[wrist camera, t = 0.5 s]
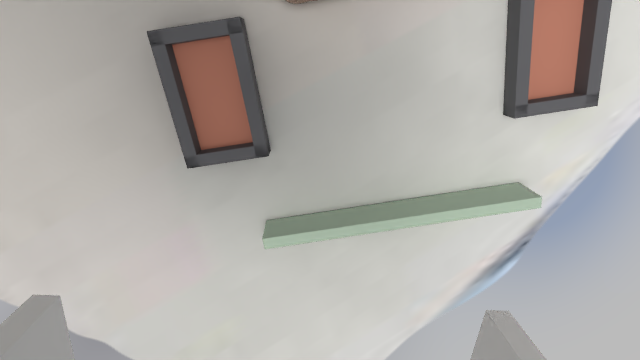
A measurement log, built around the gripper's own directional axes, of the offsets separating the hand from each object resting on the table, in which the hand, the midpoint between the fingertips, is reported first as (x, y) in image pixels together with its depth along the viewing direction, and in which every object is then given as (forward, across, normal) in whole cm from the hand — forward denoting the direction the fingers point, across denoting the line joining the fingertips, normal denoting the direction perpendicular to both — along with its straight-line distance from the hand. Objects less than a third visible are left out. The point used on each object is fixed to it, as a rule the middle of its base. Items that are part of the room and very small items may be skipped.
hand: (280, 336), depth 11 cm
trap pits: (+26, +8, +7) cm, 28 cm away
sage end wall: (+26, +11, -7) cm, 29 cm away
